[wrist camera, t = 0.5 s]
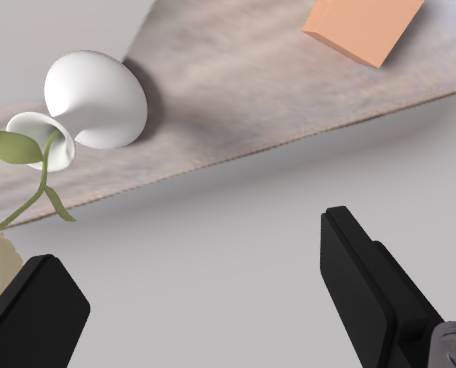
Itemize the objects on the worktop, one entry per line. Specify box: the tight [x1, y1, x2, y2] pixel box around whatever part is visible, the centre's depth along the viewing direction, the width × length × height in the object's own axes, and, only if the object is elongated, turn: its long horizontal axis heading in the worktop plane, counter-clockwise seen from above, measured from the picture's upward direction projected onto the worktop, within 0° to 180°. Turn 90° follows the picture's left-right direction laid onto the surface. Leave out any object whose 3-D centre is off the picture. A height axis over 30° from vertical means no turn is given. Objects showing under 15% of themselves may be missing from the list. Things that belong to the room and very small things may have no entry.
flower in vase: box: [0, 50, 147, 295], centre depth 22 cm, size 13×11×25 cm
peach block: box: [302, 0, 425, 68], centre depth 27 cm, size 7×8×5 cm
